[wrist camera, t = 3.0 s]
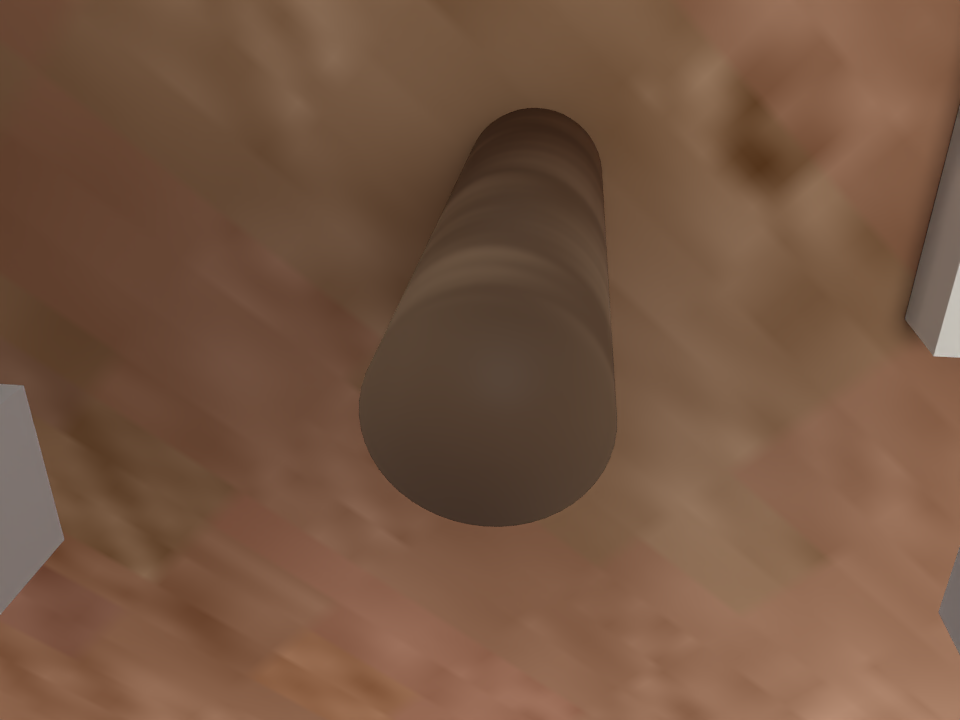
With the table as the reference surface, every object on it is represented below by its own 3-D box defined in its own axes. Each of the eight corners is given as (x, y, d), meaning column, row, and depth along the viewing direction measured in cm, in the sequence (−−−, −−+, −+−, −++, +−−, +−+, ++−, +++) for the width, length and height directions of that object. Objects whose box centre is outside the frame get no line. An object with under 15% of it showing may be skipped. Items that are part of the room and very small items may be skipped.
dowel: (467, 237, 27) (366, 517, 14) (467, 106, 25) (351, 297, 13) (596, 243, 26) (606, 535, 14) (606, 109, 25) (628, 311, 12)
